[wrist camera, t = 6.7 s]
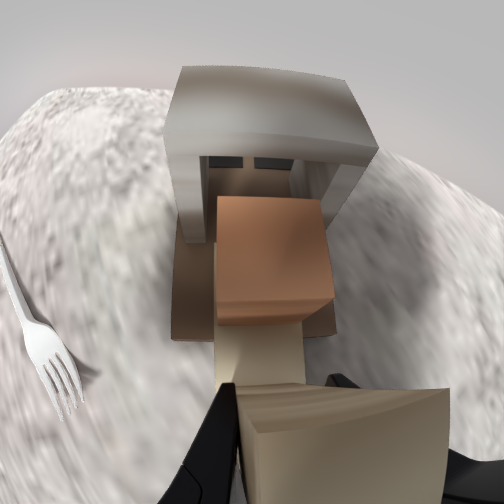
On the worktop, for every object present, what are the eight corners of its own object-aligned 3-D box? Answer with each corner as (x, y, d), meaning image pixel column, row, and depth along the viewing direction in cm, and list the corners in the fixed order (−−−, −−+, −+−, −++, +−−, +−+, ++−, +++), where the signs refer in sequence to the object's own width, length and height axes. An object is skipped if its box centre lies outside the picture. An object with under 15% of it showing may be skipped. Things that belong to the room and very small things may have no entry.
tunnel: (330, 336, 16) (437, 288, 7) (173, 340, 14) (112, 296, 6) (301, 150, 21) (334, 51, 13) (189, 146, 20) (182, 38, 12)
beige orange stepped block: (303, 424, 12) (465, 494, 2) (217, 430, 12) (213, 571, 2) (290, 249, 16) (373, 83, 6) (214, 248, 16) (213, 61, 6)
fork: (4, 202, 18) (-6, 191, 16) (103, 395, 13) (89, 396, 11) (-16, 225, 16) (-27, 214, 15) (73, 422, 12) (57, 425, 10)
